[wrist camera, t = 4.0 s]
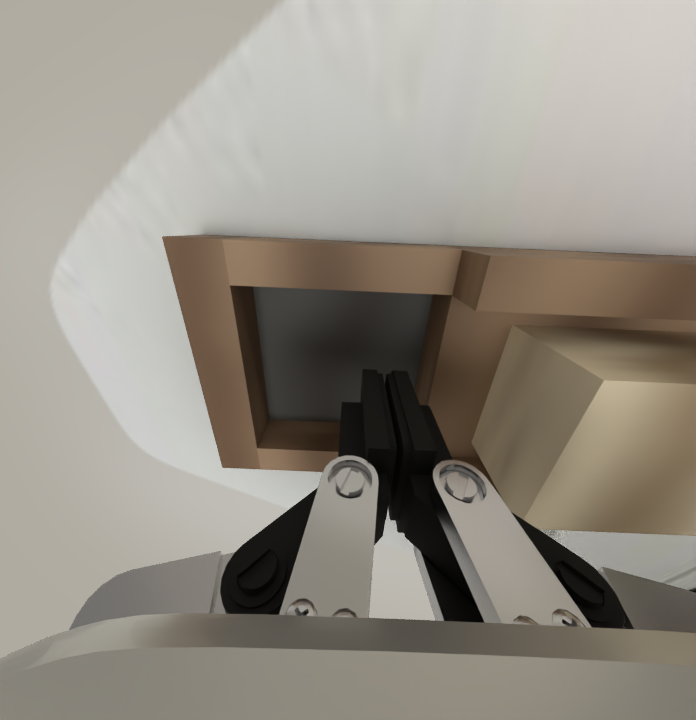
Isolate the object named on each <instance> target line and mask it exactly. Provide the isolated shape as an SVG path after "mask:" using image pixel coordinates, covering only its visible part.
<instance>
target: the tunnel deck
mask: <svg viewBox="0 0 696 720" xmlns="http://www.w3.org/2000/svg"><path fill="white" fill-rule="evenodd" d="M162 238H163V242H164V246H165V250H166V254H167V257H168V261H169V265H170V269H171V273H172V276H173V280H174V284H175V288H176V292H177V296H178V299H179V303H180V307H181V311H182V315H183V318H184V322H185V326H186V330H187V334H188V338H189V341H190V345H191V349H192V353H193V357H194V360H195V364H196V368H197V372H198V376H199V380H200V383H201V387H202V391H203V395H204V399H205V402H206V406H207V410H208V414H209V418H210V422H211V425H212V429H213V433H214V437H215V441H216V444H217V448H218V452H219V456H220V460H221V464H222V467H223V468H244V469H267V470H290V471H314V472H323V471H324V469H325V467H326V466H327V465H328V464H329V463H330V462H331V461H332V460H334V459H336V458H338V450H339V435H340V421H341V406H342V402H360V397H361V383H362V371H363V369H377V371H378V373H382V374H383V378H384V383H385V379H386V374H391V372H392V370H401V371H407V372H408V374H409V377H410V380H411V382H412V385H413V388H414V390H415V393H416V396H417V398H418V401H419V404H420V405H428V406H429V407H430V408H431V410H432V413H433V415H434V417H435V420H436V422H437V424H438V427H439V429H440V431H441V434H442V436H443V438H444V441H445V443H446V445H447V448H448V450H449V452H450V455H451V457H452V459H453V460H458V461H462V462H466V463H468V464H470V465H472V466H474V467H475V468H476V469H478V470H479V471H480V472H482V473H483V474H484V476H485V477H486V478H487V479H488V480H489V482H490V483H491V484H492V486H493V487H494V489H495V490H496V492H497V493H498V494H499V492H498V490H497V488H496V486H495V485H494V483H493V481H492V479H491V477H490V475H489V474H488V472H487V470H486V468H485V466H484V465H483V463H482V461H481V459H480V457H479V455H478V454H477V452H476V450H475V448H474V446H473V445H472V443H471V442H472V439H473V437H474V434H475V431H476V428H477V425H478V422H479V419H480V416H481V414H482V411H483V408H484V405H485V402H486V399H487V396H488V393H489V391H490V388H491V385H492V382H493V379H494V376H495V373H496V370H497V367H498V365H499V362H500V359H501V356H502V353H503V350H504V347H505V344H506V342H507V339H508V336H509V333H510V330H511V327H512V325H534V326H557V327H580V328H602V329H625V330H648V331H671V332H694V333H696V257H693V256H671V255H648V254H625V253H603V252H580V251H557V250H535V249H512V248H489V247H467V246H444V245H421V244H398V243H376V242H353V241H330V240H308V239H285V238H262V237H240V236H217V235H187V236H166V237H162ZM499 496H500V497H501V495H500V494H499ZM501 499H502V497H501ZM502 500H503V499H502ZM503 502H504V501H503Z"/></svg>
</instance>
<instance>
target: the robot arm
mask: <svg viewBox="0 0 696 720" xmlns="http://www.w3.org/2000/svg"><path fill="white" fill-rule="evenodd" d="M388 508H389V516H390V520H396V524H397V531H398V532H401V533H404V534H405V537H406V538H407V539H408V540H409V541H410V542H411V543H412V544H413V545H414V552H415V557H416V560H417V563H418V566H419V569H420V573H421V575H422V579H423V582H424V585H425V588H426V591H427V595H428V598H429V601H430V604H431V607H432V610H433V613H434V616H435V620H436V621H430V620H405V619H379V618H378V619H377V618H369V607H370V594H371V580H372V566H373V553H374V545H375V544H376V543H377V542H378V540H379V539H380V538H381V537H382V536H383V530H384V524H385V520H386V515H387V509H388ZM0 720H696V592H692V591H688V590H685V589H681V588H677V587H674V586H670V585H666V584H663V583H659V582H655V581H652V580H648V579H644V578H641V577H637V576H633V575H630V574H626V573H622V572H619V571H615V570H612V569H608V568H604V567H601V568H600V569H599V570H598V571H597V570H596V569H595V568H594V567H592V566H591V565H590V564H588V563H587V562H586V561H585V560H583V559H582V558H580V557H579V556H577V555H576V554H574V553H573V552H571V551H570V550H568V549H567V548H565V547H564V546H562V545H561V544H559V543H558V542H556V541H555V540H553V539H552V538H550V537H549V536H547V535H546V534H544V533H543V532H541V531H540V530H538V529H537V528H535V527H534V526H532V525H531V524H529V523H528V522H526V521H525V520H523V519H521V518H520V517H518V516H517V515H515V514H514V513H512V512H511V511H510V510H509V509H508V507H507V506H506V504H505V503H504V502H503V500H502V499H501V497H500V496H499V494H498V493H497V492H496V490H495V489H494V487H493V486H492V484H491V483H490V482H489V480H488V479H487V478H486V477H485V476H484V474H483V473H482V472H480V471H479V470H478V469H476V468H475V467H474V466H472V465H470V464H468V463H466V462H462V461H458V460H453V459H452V457H451V455H450V452H449V450H448V448H447V445H446V443H445V441H444V438H443V436H442V434H441V431H440V429H439V427H438V424H437V422H436V420H435V417H434V415H433V413H432V410H431V408H430V407H429V406H428V405H420V404H419V401H418V398H417V396H416V393H415V390H414V388H413V385H412V382H411V380H410V377H409V374H408V372H407V371H401V370H392V372H391V374H386V379H385V383H384V378H383V374H382V373H378V371H377V369H363V371H362V383H361V397H360V402H342V406H341V421H340V435H339V450H338V458H336V459H334V460H332V461H331V462H330V463H329V464H328V465H327V466H326V467H325V469H324V471H323V473H322V476H321V479H320V483H319V486H318V488H317V489H315V490H314V491H313V492H312V493H310V494H309V495H308V496H306V497H305V498H304V499H302V500H301V501H300V502H298V503H297V504H296V505H294V506H293V507H292V508H291V509H289V510H288V511H287V512H285V513H284V514H283V515H281V516H280V517H279V518H277V519H276V520H275V521H273V522H272V523H271V524H270V525H268V526H267V527H266V528H264V529H263V530H262V531H261V532H259V533H258V534H256V535H255V536H254V537H252V538H251V539H250V540H249V541H247V542H246V543H245V544H243V545H242V546H241V547H240V548H239V549H238V550H237V551H236V552H234V553H230V554H225V555H222V553H221V551H218V552H214V553H209V554H204V555H200V556H195V557H190V558H185V559H181V560H176V561H171V562H167V563H162V564H157V565H152V566H148V567H143V568H139V569H133V570H130V571H127V572H124V573H122V574H119V575H116V576H115V577H113V578H112V579H111V580H109V581H108V582H106V583H105V584H103V585H102V586H101V587H100V588H99V589H98V590H97V591H96V592H95V593H94V594H93V595H92V596H90V597H89V598H88V600H87V601H86V603H85V604H84V606H83V607H82V608H81V610H80V611H79V613H78V614H77V616H76V618H75V620H74V622H73V623H72V625H71V627H70V629H69V630H68V631H65V632H62V633H59V634H56V635H53V636H50V637H47V638H45V639H42V640H40V641H38V642H36V643H33V644H31V645H29V646H26V647H24V648H22V649H19V650H17V651H15V652H13V653H10V654H8V655H7V656H5V657H3V658H1V659H0Z"/></svg>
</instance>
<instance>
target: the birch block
mask: <svg viewBox="0 0 696 720" xmlns="http://www.w3.org/2000/svg"><path fill="white" fill-rule="evenodd" d="M471 443H472V445H473V446H474V448H475V450H476V452H477V454H478V455H479V457H480V459H481V461H482V463H483V465H484V466H485V468H486V470H487V472H488V474H489V475H490V477H491V479H492V481H493V483H494V485H495V486H496V488H497V490H498V492H499V494H500V495H501V497H502V499H503V501H504V503H505V504H506V506H507V507H508V509H509V510H510V511H511V512H512V513H514V514H515V515H517V516H518V517H520V518H521V519H523V520H525V521H526V522H528V523H529V524H531V525H532V526H534V527H535V528H537V529H548V530H572V531H595V532H619V533H642V534H666V535H689V536H696V333H694V332H671V331H648V330H625V329H602V328H580V327H557V326H534V325H512V327H511V330H510V333H509V336H508V339H507V342H506V344H505V347H504V350H503V353H502V356H501V359H500V362H499V365H498V367H497V370H496V373H495V376H494V379H493V382H492V385H491V388H490V391H489V393H488V396H487V399H486V402H485V405H484V408H483V411H482V414H481V416H480V419H479V422H478V425H477V428H476V431H475V434H474V437H473V439H472V442H471Z"/></svg>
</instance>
